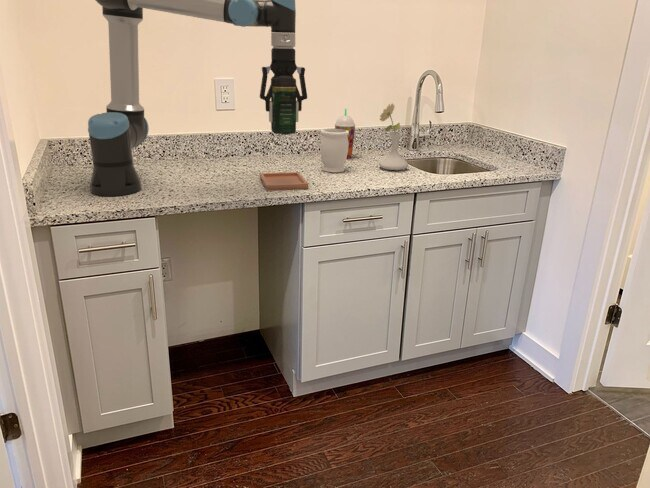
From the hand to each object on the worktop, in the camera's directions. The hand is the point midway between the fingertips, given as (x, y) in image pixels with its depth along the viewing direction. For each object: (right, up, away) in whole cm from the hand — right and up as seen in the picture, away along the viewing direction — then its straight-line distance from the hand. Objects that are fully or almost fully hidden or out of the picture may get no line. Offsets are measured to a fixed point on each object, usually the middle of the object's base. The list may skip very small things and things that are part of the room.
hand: (283, 121), depth 175 cm
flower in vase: (+39, -11, +32) cm, 52 cm away
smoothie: (+22, -4, +49) cm, 53 cm away
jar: (+17, -12, +27) cm, 34 cm away
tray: (-1, -20, +8) cm, 21 cm away
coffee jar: (0, -4, +1) cm, 4 cm away
